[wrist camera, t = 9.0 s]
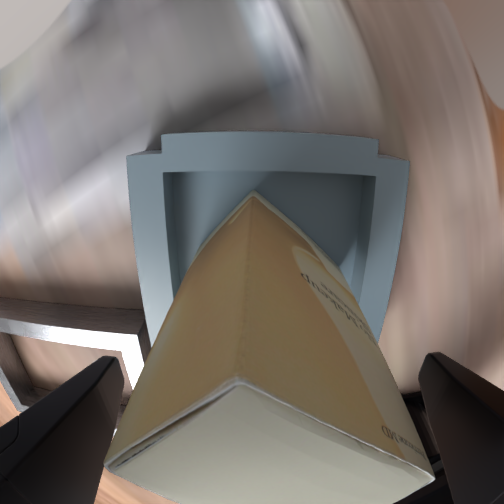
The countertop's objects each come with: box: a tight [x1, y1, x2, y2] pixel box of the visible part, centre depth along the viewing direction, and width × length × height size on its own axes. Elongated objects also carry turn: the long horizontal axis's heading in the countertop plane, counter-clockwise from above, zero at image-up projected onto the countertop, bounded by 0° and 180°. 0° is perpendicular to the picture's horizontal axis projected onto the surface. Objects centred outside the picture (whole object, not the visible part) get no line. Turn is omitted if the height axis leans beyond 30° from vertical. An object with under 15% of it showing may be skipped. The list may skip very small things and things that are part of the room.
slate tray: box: [126, 131, 410, 347], centre depth 16 cm, size 12×12×2 cm
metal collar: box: [0, 297, 152, 437], centre depth 19 cm, size 14×10×2 cm
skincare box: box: [103, 190, 435, 504], centre depth 10 cm, size 6×4×12 cm
